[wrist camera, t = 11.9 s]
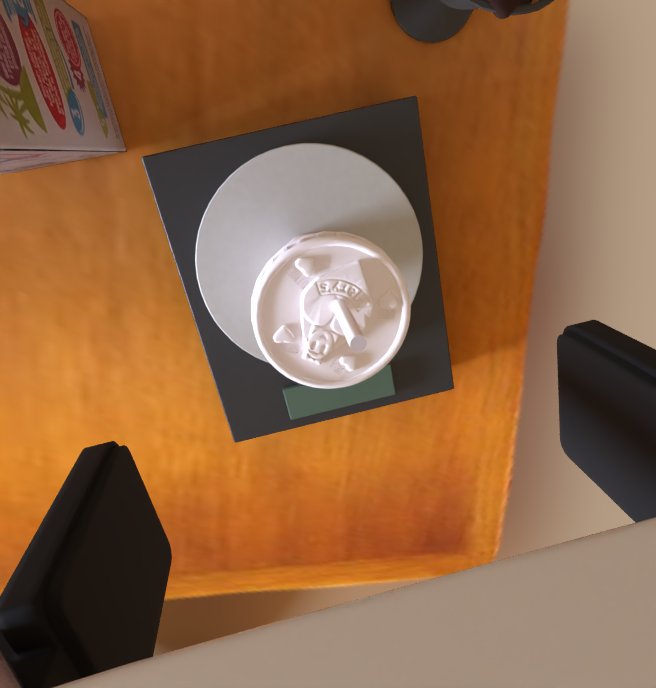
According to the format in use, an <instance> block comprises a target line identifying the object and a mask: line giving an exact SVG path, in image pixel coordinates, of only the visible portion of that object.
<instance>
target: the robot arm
mask: <svg viewBox="0 0 656 688" xmlns="http://www.w3.org/2000/svg"><path fill="white" fill-rule="evenodd" d="M557 359H558V390H559V420H560V441H561V445H562V448H563V450H564V452H565V453H566V455H567V456H568V457H569V458H570V459H571V460H572V461H573V462H574V463H575V464H576V465H577V466H578V467H579V468H580V469H581V470H582V471H583V472H584V473H585V474H586V475H587V476H588V477H589V478H590V479H592V480H593V481H594V482H595V483H596V484H597V485H598V486H599V487H600V488H601V489H602V490H603V491H604V492H605V493H606V494H607V495H608V496H609V497H610V498H611V499H612V500H613V501H614V502H615V503H616V504H617V505H618V506H619V507H620V508H621V509H622V510H623V511H624V512H625V513H626V514H628V516H629V517H630V518H632V519H633V520H634V521H635V522H636V523H633V524H629V525H626V526H622V527H618V528H615V529H611V530H607V531H604V532H600V533H596V534H592V535H589V536H585V537H582V538H578V539H575V540H571V541H567V542H563V543H560V544H557V545H553V546H549V547H545V548H542V549H538V550H535V551H531V552H527V553H524V554H520V555H516V556H513V557H509V558H506V559H502V560H498V561H495V562H491V563H488V564H484V565H480V566H477V567H473V568H470V569H466V570H462V571H459V572H455V573H451V574H448V575H444V576H441V577H437V578H433V579H430V580H426V581H423V582H419V583H415V584H412V585H408V586H404V587H401V588H397V589H394V590H390V591H387V592H383V593H379V594H375V595H372V596H368V597H365V598H361V599H357V600H354V601H350V602H346V603H343V604H339V605H336V606H332V607H328V608H325V609H321V610H318V611H314V612H310V613H307V614H303V615H300V616H296V617H292V618H288V619H285V620H282V621H278V622H275V623H271V624H268V625H264V626H260V627H257V628H253V629H250V630H246V631H242V632H239V633H236V634H232V635H228V636H225V637H221V638H218V639H214V640H211V641H207V642H204V643H200V644H196V645H193V646H189V647H186V648H182V649H179V650H175V651H172V652H168V653H164V654H161V655H158V656H154V657H153V653H154V648H155V643H156V638H157V633H158V627H159V622H160V617H161V612H162V607H163V602H164V597H165V592H166V587H167V581H168V576H169V571H170V566H171V560H172V554H171V548H170V544H169V541H168V539H167V537H166V534H165V532H164V530H163V527H162V525H161V523H160V520H159V518H158V516H157V513H156V511H155V509H154V506H153V504H152V502H151V499H150V497H149V495H148V492H147V490H146V488H145V485H144V483H143V481H142V478H141V476H140V474H139V471H138V469H137V467H136V464H135V462H134V460H133V457H132V455H131V453H130V451H129V449H128V448H127V446H125V445H123V446H119V445H118V444H117V443H116V442H114V441H111V442H107V443H103V444H99V445H95V446H91V447H87V448H84V449H83V450H82V452H81V454H80V455H79V457H78V459H77V461H76V463H75V464H74V466H73V468H72V470H71V471H70V473H69V475H68V477H67V479H66V480H65V482H64V484H63V486H62V487H61V489H60V491H59V493H58V495H57V496H56V498H55V500H54V502H53V503H52V505H51V507H50V509H49V511H48V512H47V514H46V516H45V518H44V519H43V521H42V523H41V525H40V527H39V528H38V530H37V532H36V534H35V535H34V537H33V539H32V541H31V543H30V544H29V546H28V548H27V550H26V551H25V553H24V555H23V557H22V559H21V560H20V562H19V564H18V566H17V567H16V569H15V571H14V573H13V575H12V576H11V578H10V580H9V582H8V583H7V585H6V587H5V589H4V591H3V592H2V594H1V596H0V688H656V350H655V349H653V348H651V347H649V346H647V345H645V344H643V343H641V342H639V341H637V340H635V339H633V338H631V337H629V336H627V335H625V334H623V333H621V332H619V331H617V330H615V329H613V328H611V327H609V326H607V325H605V324H603V323H601V322H599V321H596V320H591V321H587V322H582V323H579V324H574V325H570V326H567V327H566V328H565V329H564V332H563V334H562V335H559V337H558V339H557Z"/></svg>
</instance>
